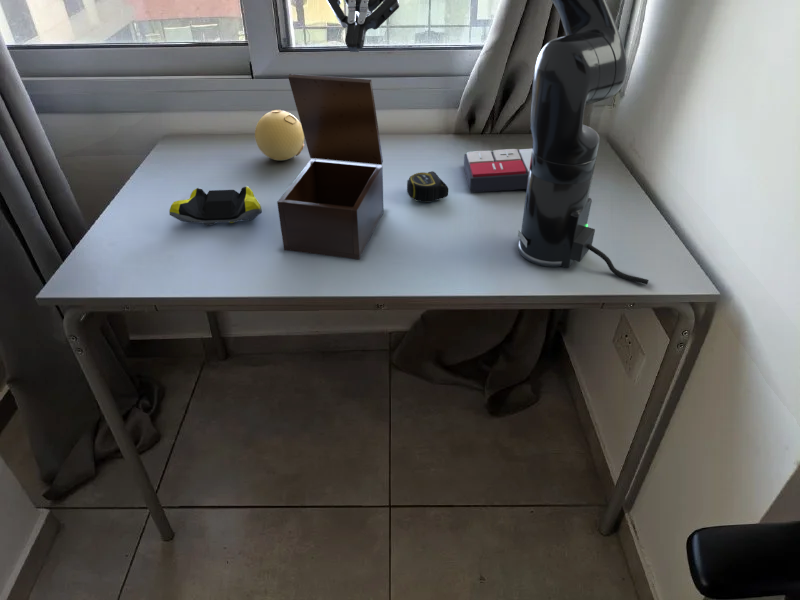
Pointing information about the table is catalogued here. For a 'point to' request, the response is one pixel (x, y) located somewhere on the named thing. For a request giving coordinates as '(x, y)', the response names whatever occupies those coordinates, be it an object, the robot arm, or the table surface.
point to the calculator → (497, 169)
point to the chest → (332, 208)
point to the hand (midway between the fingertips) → (353, 49)
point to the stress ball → (279, 135)
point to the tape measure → (426, 187)
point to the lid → (338, 117)
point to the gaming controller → (217, 206)
